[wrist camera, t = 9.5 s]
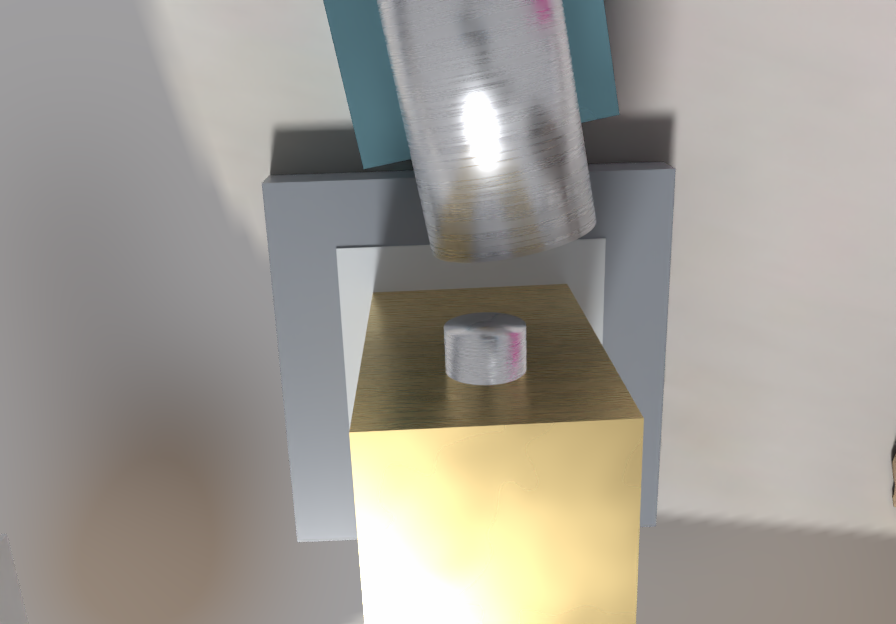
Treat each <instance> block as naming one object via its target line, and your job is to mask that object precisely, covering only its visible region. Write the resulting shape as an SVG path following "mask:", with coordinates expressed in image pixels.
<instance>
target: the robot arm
mask: <svg viewBox="0 0 896 624" xmlns="http://www.w3.org/2000/svg"><path fill="white" fill-rule="evenodd" d="M0 624H29V623H28V619H27V615H26V610H25V606H24V602H23V598H22V594H21V589H20V585H19V581H18V577H17V573H16V569H15V565H14V560H13V556H12V553H11V548H10V544H9V540H8V536H7V534H0Z"/></svg>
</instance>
